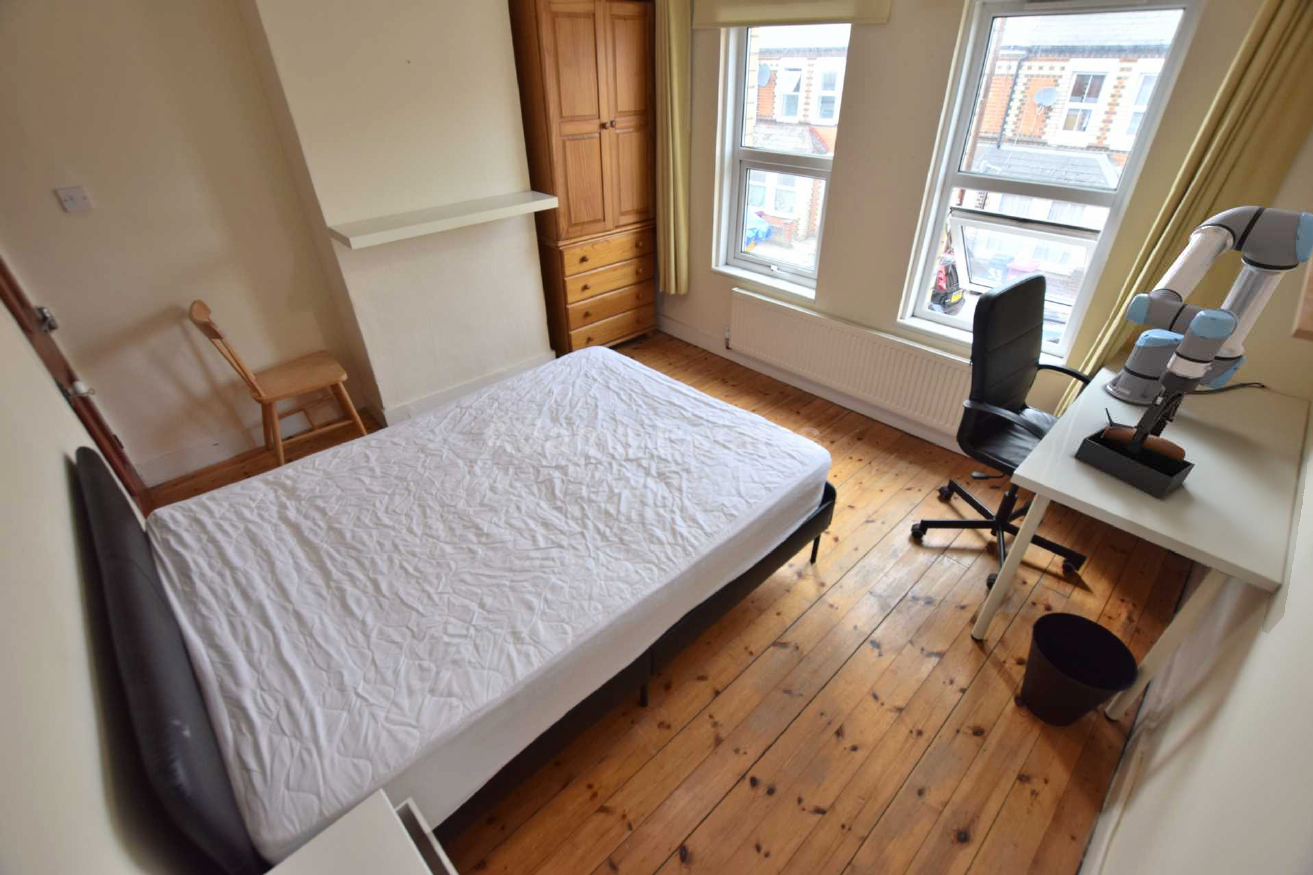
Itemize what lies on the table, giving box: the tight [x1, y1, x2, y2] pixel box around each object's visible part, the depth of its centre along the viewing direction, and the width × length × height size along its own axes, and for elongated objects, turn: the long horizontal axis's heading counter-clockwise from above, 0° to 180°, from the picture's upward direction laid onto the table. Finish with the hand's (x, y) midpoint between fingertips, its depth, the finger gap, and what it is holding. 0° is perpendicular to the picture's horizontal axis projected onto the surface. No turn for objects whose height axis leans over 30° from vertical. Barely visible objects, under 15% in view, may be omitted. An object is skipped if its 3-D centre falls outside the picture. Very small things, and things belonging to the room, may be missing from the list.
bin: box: [1074, 425, 1195, 500], centre depth 161 cm, size 13×22×7 cm, turn 31°
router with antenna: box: [1104, 407, 1135, 430], centre depth 177 cm, size 12×7×10 cm
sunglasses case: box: [1101, 426, 1186, 463], centre depth 157 cm, size 18×7×7 cm
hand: (1141, 445), depth 158 cm, fingers closed on sunglasses case, 9 cm apart
